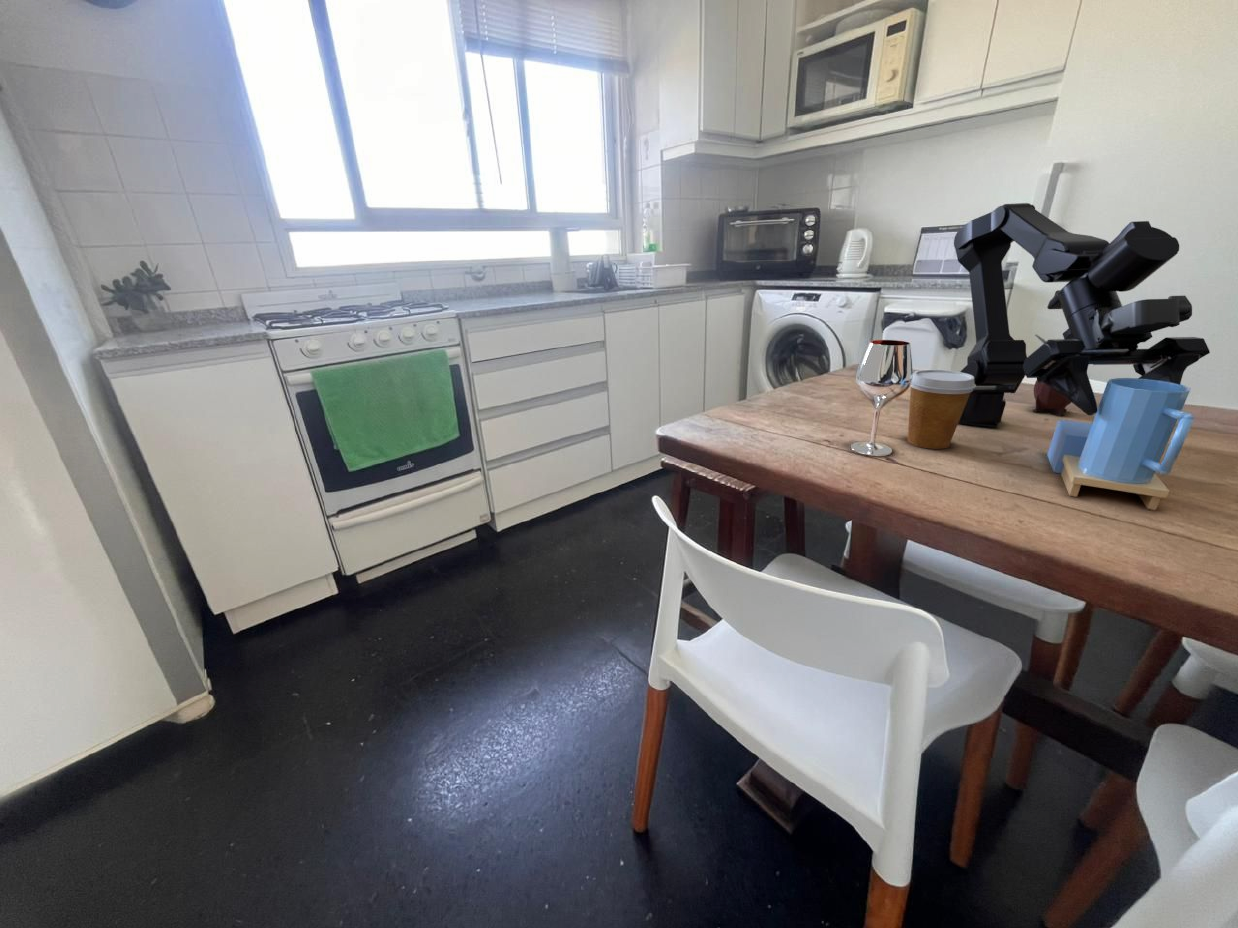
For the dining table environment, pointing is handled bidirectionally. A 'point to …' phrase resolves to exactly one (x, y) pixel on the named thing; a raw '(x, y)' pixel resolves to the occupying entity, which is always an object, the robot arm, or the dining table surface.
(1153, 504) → the blue and wooden stand
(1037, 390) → the mate gourd
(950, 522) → the dining table surface
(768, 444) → the dining table surface
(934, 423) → the disposable coffee cup
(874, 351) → the wineglass
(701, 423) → the dining table surface
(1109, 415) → the blue mug
